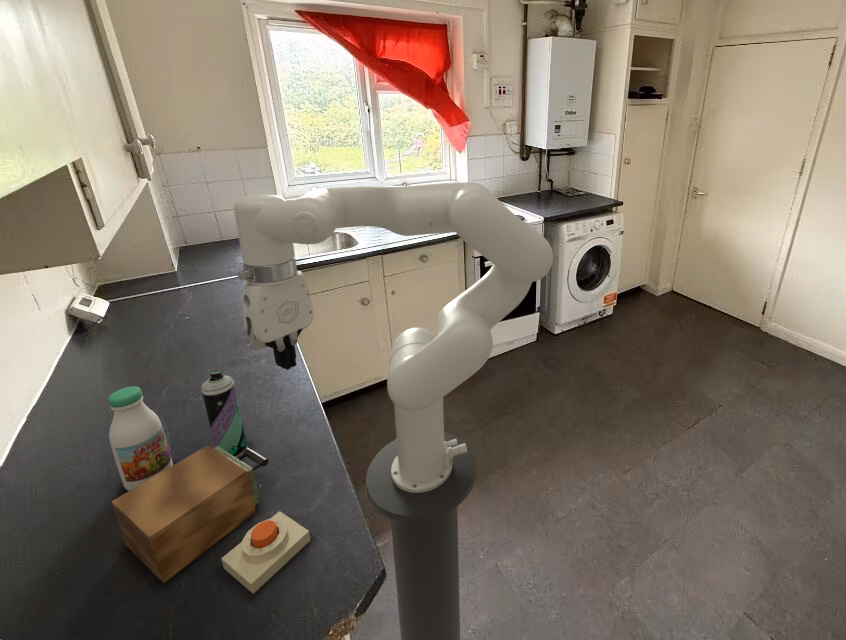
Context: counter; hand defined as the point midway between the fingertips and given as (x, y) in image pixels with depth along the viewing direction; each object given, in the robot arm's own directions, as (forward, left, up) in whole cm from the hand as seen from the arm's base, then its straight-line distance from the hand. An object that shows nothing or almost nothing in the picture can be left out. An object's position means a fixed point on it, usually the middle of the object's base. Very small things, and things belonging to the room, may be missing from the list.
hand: (286, 365), depth 76 cm
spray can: (+14, -16, -27) cm, 35 cm away
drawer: (+15, 0, -26) cm, 30 cm away
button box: (+6, +13, -27) cm, 31 cm away
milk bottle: (+28, -15, -27) cm, 42 cm away
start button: (+6, +13, -24) cm, 28 cm away
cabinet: (+18, +2, -27) cm, 33 cm away
